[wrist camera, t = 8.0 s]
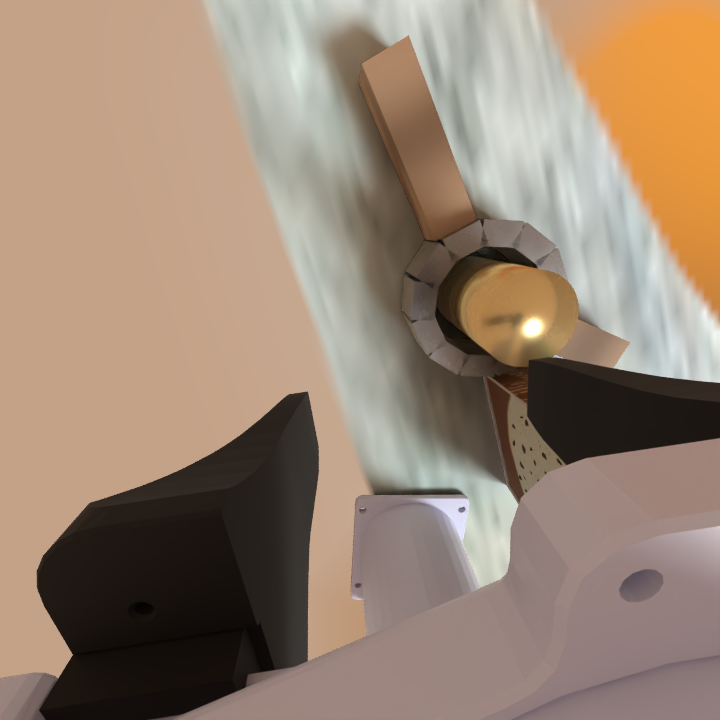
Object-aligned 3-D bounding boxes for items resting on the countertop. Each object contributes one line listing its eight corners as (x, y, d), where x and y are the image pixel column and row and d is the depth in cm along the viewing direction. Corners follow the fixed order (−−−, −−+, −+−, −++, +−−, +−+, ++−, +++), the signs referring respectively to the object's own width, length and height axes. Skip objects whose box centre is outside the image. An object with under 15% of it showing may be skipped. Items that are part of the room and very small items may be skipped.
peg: (510, 259, 21) (591, 274, 14) (495, 328, 22) (563, 369, 16) (441, 253, 21) (492, 265, 14) (430, 323, 22) (472, 364, 15)
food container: (593, 476, 26) (735, 612, 17) (510, 501, 27) (605, 649, 17) (574, 317, 22) (749, 380, 13) (476, 348, 23) (578, 433, 13)
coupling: (594, 363, 23) (630, 382, 21) (347, 357, 22) (349, 376, 19) (672, 82, 18) (732, 56, 16) (359, 54, 17) (364, 20, 14)
